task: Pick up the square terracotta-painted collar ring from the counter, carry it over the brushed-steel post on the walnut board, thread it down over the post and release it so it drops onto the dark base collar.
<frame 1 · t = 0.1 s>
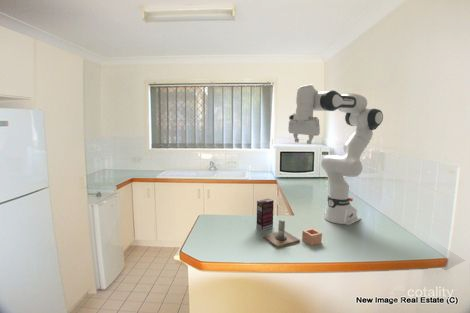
hand: (302, 143, 143), 48 cm above the worktop, fingers open, 8 cm apart
ring: (311, 241, 135), on the worktop
post board: (280, 240, 136), on the worktop
supplement box: (264, 228, 150), on the worktop
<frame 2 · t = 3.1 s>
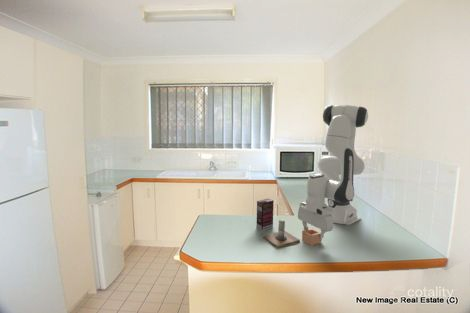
hand: (313, 233, 133), 5 cm above the worktop, fingers open, 8 cm apart
ring: (311, 241, 135), on the worktop, touching gripper
everything else where it was.
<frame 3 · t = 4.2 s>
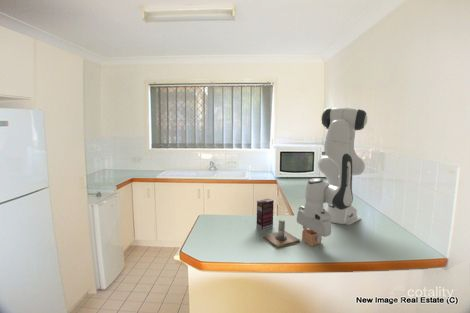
hand: (311, 237, 135), 2 cm above the worktop, fingers closed on ring, 7 cm apart
ring: (311, 241, 135), on the worktop, touching gripper
everything else where it was.
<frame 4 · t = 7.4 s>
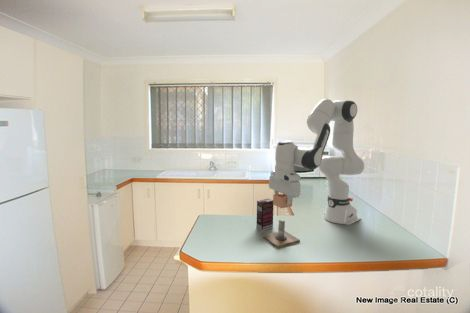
hand: (282, 201, 133), 20 cm above the worktop, fingers closed on ring, 7 cm apart
ring: (282, 205, 133), point 18 cm above the worktop, touching gripper
everything else where it was.
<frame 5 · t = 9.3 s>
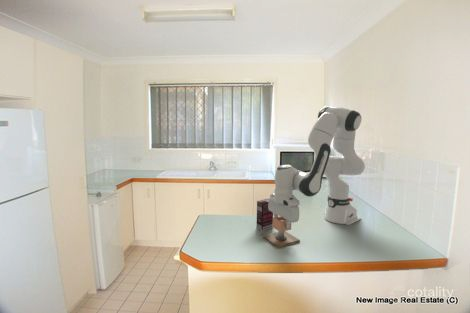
hand: (281, 224, 135), 8 cm above the worktop, fingers closed on ring, 7 cm apart
ring: (281, 228, 135), point 6 cm above the worktop, touching gripper
everything else where it was.
when the fingers open (7 cm above the worktop, at t = 10.6 s): ring drops 3 cm, resting on post board.
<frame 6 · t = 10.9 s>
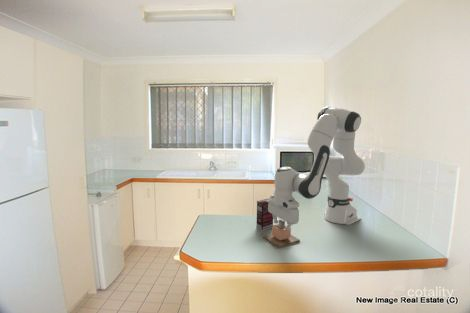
hand: (281, 226, 135), 7 cm above the worktop, fingers open, 8 cm apart
ring: (281, 236, 136), point 2 cm above the worktop, touching post board
everything else where it was.
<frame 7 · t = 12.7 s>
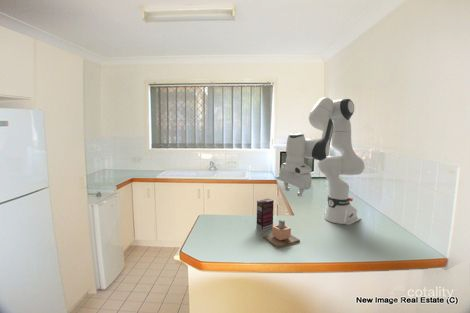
hand: (293, 193, 135), 24 cm above the worktop, fingers open, 8 cm apart
nothing on the worktop moved.
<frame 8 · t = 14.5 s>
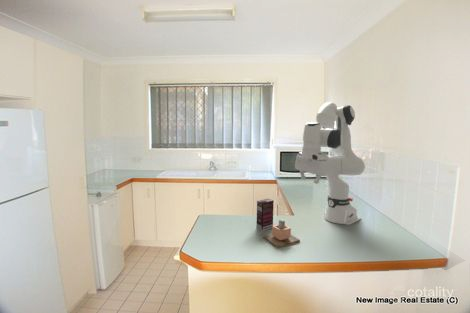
hand: (309, 181, 138), 29 cm above the worktop, fingers open, 8 cm apart
nothing on the worktop moved.
at the end: ring 0.0 cm off-centre on the post board, point 2.0 cm above the post board's base; the gripper is holding nothing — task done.
